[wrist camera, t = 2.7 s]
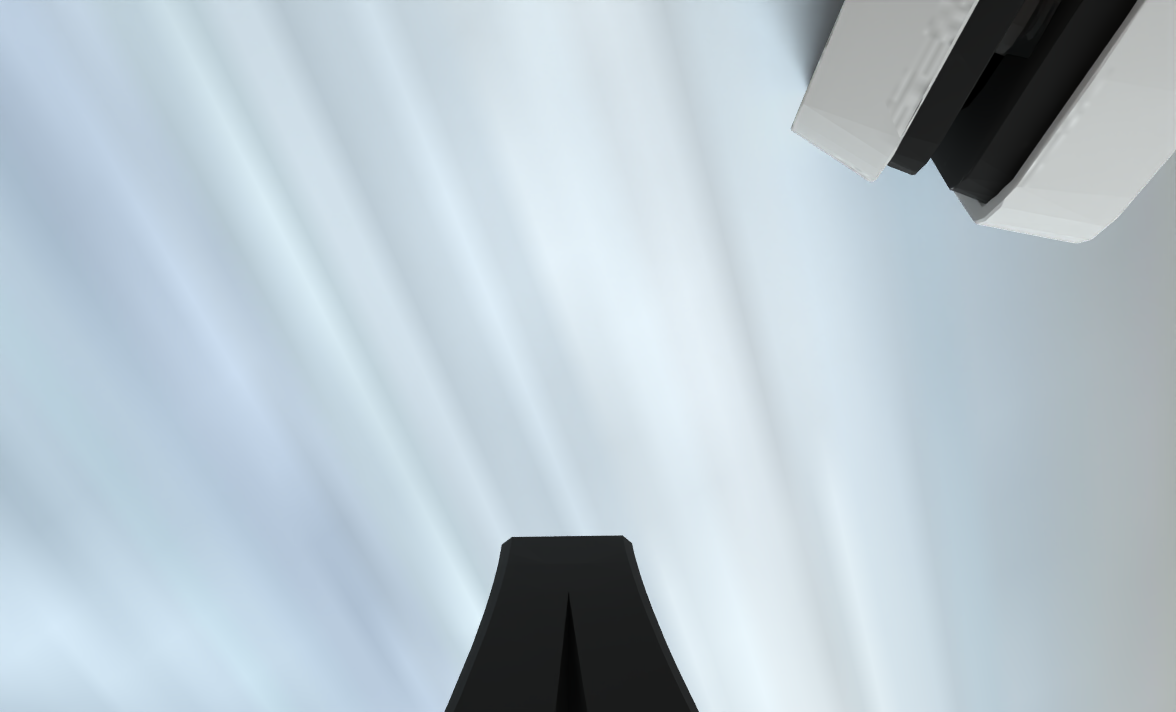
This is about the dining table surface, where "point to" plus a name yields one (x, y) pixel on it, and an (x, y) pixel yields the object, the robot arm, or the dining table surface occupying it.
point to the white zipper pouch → (1003, 103)
